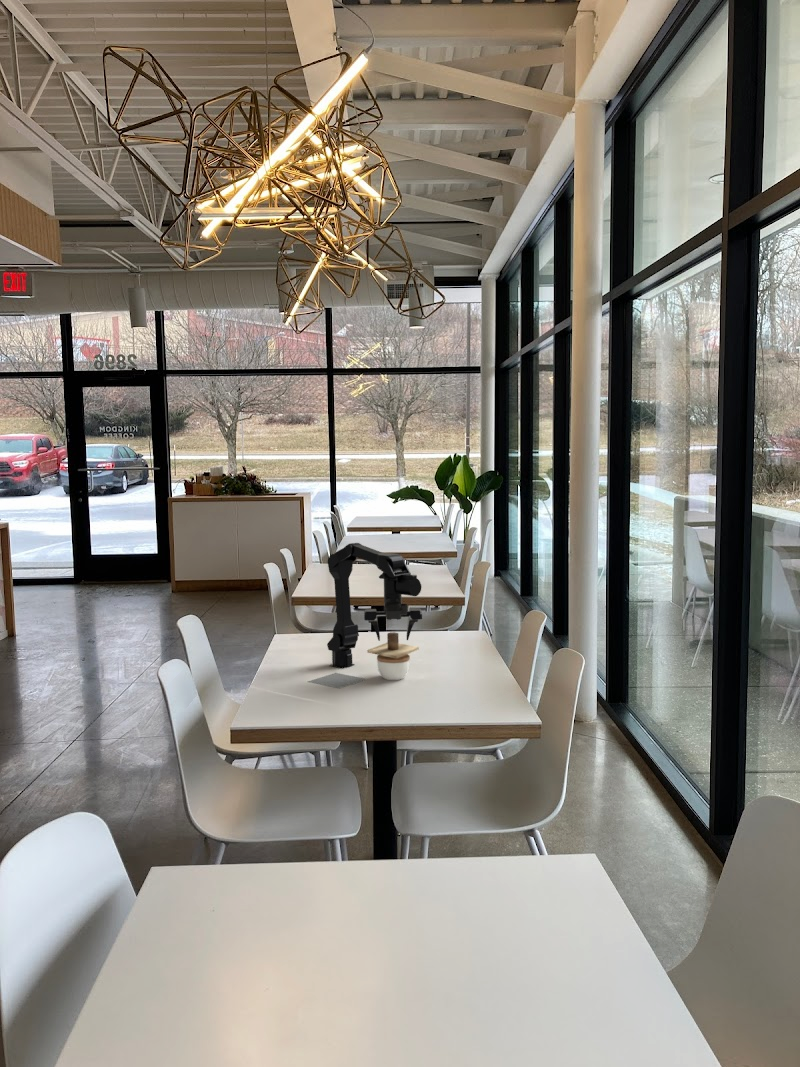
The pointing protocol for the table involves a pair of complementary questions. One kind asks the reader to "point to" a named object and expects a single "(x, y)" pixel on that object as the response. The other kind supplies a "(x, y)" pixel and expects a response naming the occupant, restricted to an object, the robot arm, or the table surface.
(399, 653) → the lid
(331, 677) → the mat
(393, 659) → the lidded jar
